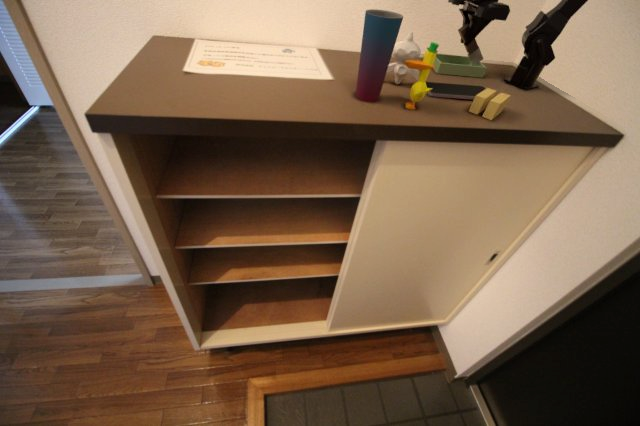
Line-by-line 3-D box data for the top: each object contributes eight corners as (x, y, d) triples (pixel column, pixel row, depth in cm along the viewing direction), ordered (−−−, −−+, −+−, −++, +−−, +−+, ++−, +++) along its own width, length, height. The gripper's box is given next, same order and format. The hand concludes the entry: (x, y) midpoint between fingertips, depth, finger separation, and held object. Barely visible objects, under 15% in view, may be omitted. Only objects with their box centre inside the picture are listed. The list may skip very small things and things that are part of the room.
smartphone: (422, 81, 69) (483, 86, 70) (421, 86, 70) (481, 90, 70) (430, 93, 64) (495, 98, 64) (428, 98, 65) (493, 102, 65)
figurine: (372, 84, 67) (384, 30, 59) (372, 77, 70) (383, 25, 63) (423, 91, 66) (441, 38, 59) (420, 84, 70) (437, 32, 62)
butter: (479, 103, 65) (487, 87, 62) (501, 111, 63) (510, 95, 60) (468, 111, 61) (475, 95, 58) (491, 120, 59) (500, 103, 56)
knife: (481, 57, 80) (467, 22, 74) (484, 59, 78) (470, 23, 72) (471, 65, 81) (456, 30, 75) (474, 67, 80) (459, 32, 74)
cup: (381, 106, 59) (403, 20, 48) (349, 100, 59) (364, 14, 49) (383, 93, 63) (403, 13, 53) (353, 88, 64) (367, 7, 53)
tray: (469, 66, 85) (473, 57, 83) (482, 77, 78) (487, 67, 76) (427, 62, 84) (430, 52, 82) (436, 73, 77) (440, 63, 75)
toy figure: (393, 108, 58) (412, 42, 50) (392, 101, 61) (410, 37, 52) (426, 112, 58) (450, 47, 50) (423, 105, 61) (446, 42, 52)
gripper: (447, -40, 71) (425, 32, 82) (478, -33, 58) (447, 51, 69) (489, -34, 72) (461, 36, 83) (529, -26, 59) (490, 56, 70)
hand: (464, 44), depth 76 cm, fingers closed on knife, 2 cm apart
